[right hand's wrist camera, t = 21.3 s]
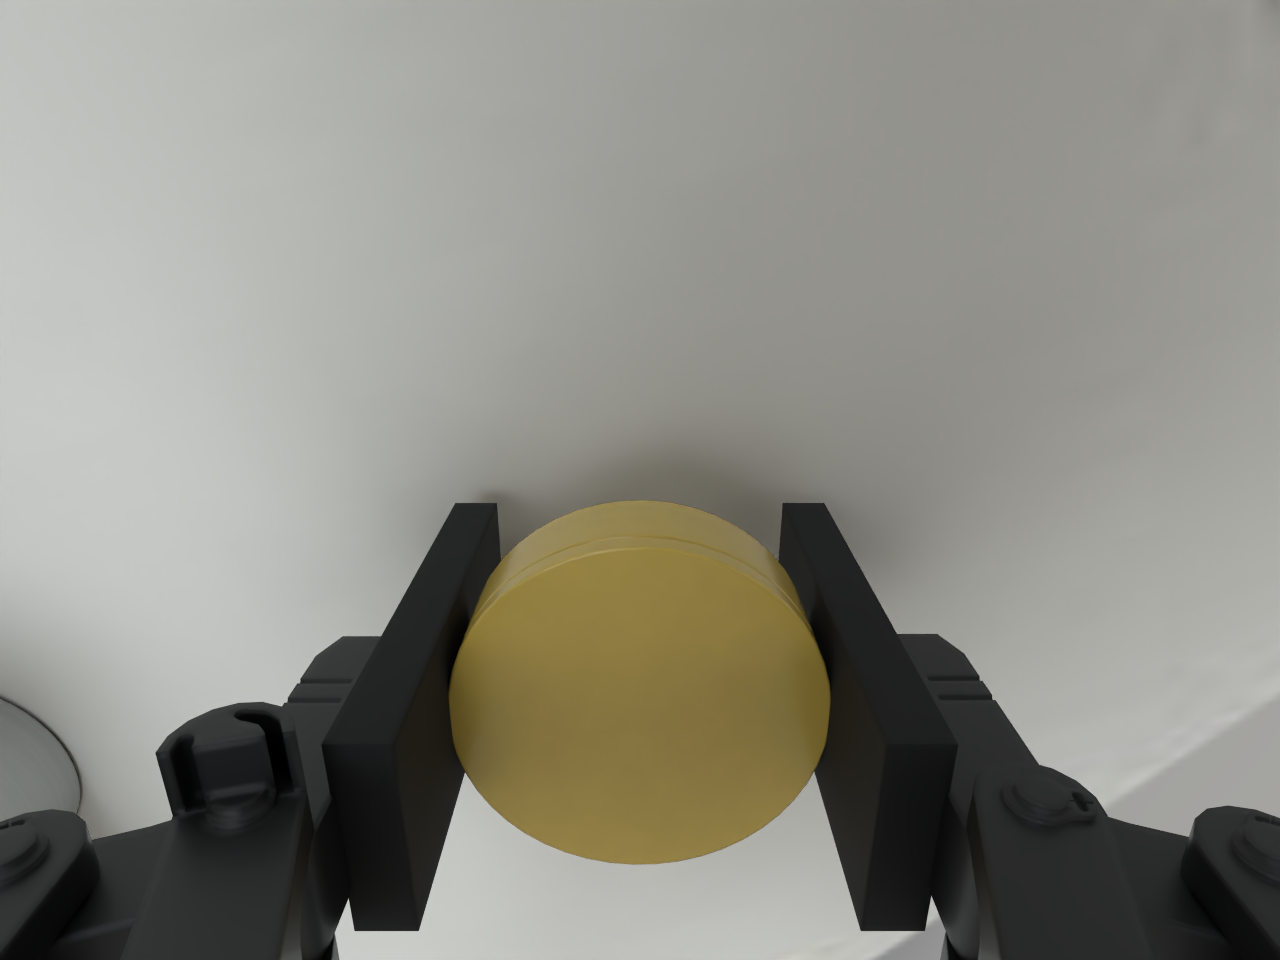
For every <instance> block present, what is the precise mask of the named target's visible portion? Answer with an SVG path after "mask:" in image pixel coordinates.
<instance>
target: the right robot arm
mask: <svg viewBox="0 0 1280 960" xmlns="http://www.w3.org/2000/svg"><path fill="white" fill-rule="evenodd" d="M500 562H501V556H500V541H499V527H498V513H497V503H455V505H454V507H453V508H452V510H451V512H450V514H449V516H448V517H447V519H446V521H445V523H444V525H443V526H442V528H441V530H440V532H439V534H438V535H437V537H436V539H435V541H434V543H433V544H432V546H431V548H430V550H429V552H428V553H427V555H426V557H425V559H424V561H423V562H422V564H421V566H420V568H419V570H418V571H417V573H416V575H415V577H414V578H413V580H412V582H411V584H410V586H409V587H408V589H407V591H406V593H405V595H404V596H403V598H402V600H401V602H400V604H399V605H398V607H397V609H396V611H395V613H394V614H393V616H392V618H391V620H390V622H389V623H388V625H387V627H386V629H385V631H384V632H383V634H382V636H343V637H341V638H340V639H339V640H337V641H336V642H335V643H333V644H332V645H330V646H329V647H328V648H326V649H325V650H324V651H322V652H321V653H319V654H318V655H317V656H316V657H315V658H314V660H313V661H312V663H311V664H310V666H309V667H308V669H307V670H306V672H305V673H304V675H303V676H302V678H301V682H300V684H297V685H296V686H295V688H294V689H293V691H292V692H291V694H290V695H289V697H288V702H287V703H284V704H283V706H282V707H281V706H277V705H273V704H269V703H265V702H251V703H237V704H233V705H229V706H225V707H221V708H217V709H213V710H211V711H209V712H206V713H204V714H202V715H200V716H198V717H196V718H193V719H191V720H189V721H187V722H186V723H185V724H183V725H182V726H181V727H179V728H178V729H177V730H175V731H174V732H173V733H171V734H170V735H169V736H168V737H167V738H166V739H165V741H164V742H163V743H162V745H161V746H160V747H159V749H158V750H157V751H156V756H157V760H158V764H159V767H160V771H161V775H162V778H163V782H164V785H165V789H166V793H167V796H168V800H169V804H170V807H171V811H172V815H173V817H172V820H170V821H167V822H164V823H160V824H157V825H154V826H151V827H146V828H142V829H138V830H133V831H129V832H125V833H120V834H116V835H112V836H108V837H103V838H99V839H95V840H91V837H90V834H89V831H88V828H87V825H86V822H85V821H84V820H82V819H81V818H80V817H79V816H78V815H76V814H75V813H74V812H69V811H63V810H56V809H49V810H42V811H35V812H29V813H24V814H21V815H18V816H15V817H12V818H10V819H6V820H4V821H1V822H0V960H339V955H338V948H337V943H336V938H335V930H336V928H337V925H338V923H339V920H340V918H341V915H342V913H343V910H344V908H345V905H346V903H347V900H348V898H349V902H350V907H351V913H352V919H353V924H354V930H355V931H419V928H420V925H421V921H422V918H423V914H424V911H425V907H426V904H427V901H428V897H429V894H430V890H431V887H432V883H433V880H434V877H435V873H436V870H437V866H438V863H439V859H440V856H441V852H442V849H443V846H444V842H445V839H446V835H447V832H448V828H449V825H450V822H451V818H452V815H453V811H454V808H455V804H456V801H457V798H458V794H459V791H460V787H461V784H462V780H463V777H464V774H465V771H464V769H463V766H462V764H461V762H460V760H459V758H458V756H457V753H456V750H455V747H454V743H453V736H452V727H451V718H450V707H449V696H448V689H449V683H450V678H451V672H452V669H453V666H454V663H455V660H456V657H457V654H458V652H459V649H460V646H461V644H462V641H463V639H464V636H465V633H466V630H467V628H468V625H469V623H470V620H471V617H472V615H473V612H474V609H475V607H476V604H477V601H478V599H479V596H480V594H481V592H482V590H483V588H484V586H485V584H486V582H487V581H488V579H489V577H490V575H491V574H492V573H493V571H494V570H495V569H496V567H497V566H498V565H499V563H500ZM779 563H780V564H781V566H782V567H783V568H784V569H785V571H786V572H787V574H788V576H789V577H790V579H791V581H792V582H793V584H794V586H795V587H796V590H797V592H798V594H799V597H800V599H801V601H802V604H803V606H804V609H805V612H806V614H807V617H808V620H809V622H810V625H811V627H812V630H813V633H814V635H815V638H816V641H817V643H818V646H819V649H820V651H821V654H822V657H823V659H824V662H825V666H826V670H827V674H828V678H829V682H830V690H831V701H830V712H829V722H828V731H827V739H826V745H825V748H824V750H823V753H822V755H821V758H820V760H819V763H818V765H817V767H816V769H815V770H814V772H815V775H816V779H817V782H818V785H819V789H820V792H821V796H822V799H823V803H824V806H825V809H826V813H827V816H828V820H829V823H830V827H831V830H832V833H833V837H834V840H835V844H836V847H837V851H838V854H839V857H840V861H841V864H842V868H843V871H844V875H845V878H846V882H847V885H848V888H849V892H850V895H851V899H852V902H853V906H854V909H855V912H856V916H857V919H858V923H859V926H860V930H861V931H925V927H926V922H927V916H928V910H929V905H930V899H931V895H932V898H933V900H934V903H935V905H936V908H937V910H938V913H939V915H940V918H941V920H942V923H943V925H944V927H945V930H946V932H945V938H944V943H943V948H942V953H941V958H940V960H1280V818H1278V817H1275V816H1272V815H1269V814H1266V813H1264V812H1261V811H1258V810H1254V809H1247V808H1240V807H1234V806H1223V807H1216V808H1209V809H1206V810H1205V811H1204V812H1202V813H1201V814H1200V815H1199V816H1198V817H1196V818H1195V820H1194V823H1193V826H1192V829H1191V832H1190V836H1189V837H1186V836H1182V835H1177V834H1173V833H1169V832H1165V831H1160V830H1156V829H1152V828H1147V827H1143V826H1139V825H1134V824H1130V823H1127V822H1123V821H1120V820H1117V819H1113V818H1110V817H1108V816H1107V814H1106V812H1105V811H1104V809H1103V808H1102V806H1101V804H1100V803H1099V801H1098V800H1097V798H1096V797H1095V796H1094V795H1093V794H1092V793H1090V792H1089V791H1088V790H1087V789H1086V788H1084V787H1083V786H1082V785H1081V784H1080V783H1078V782H1077V781H1076V780H1074V779H1072V778H1070V777H1068V776H1066V775H1064V774H1062V773H1060V772H1058V771H1056V770H1054V769H1052V768H1049V767H1045V766H1041V765H1039V764H1038V763H1037V761H1036V760H1035V758H1034V757H1033V755H1032V754H1031V752H1030V751H1029V749H1028V748H1027V746H1026V745H1025V743H1024V742H1023V740H1022V739H1021V737H1020V736H1019V734H1018V733H1017V731H1016V730H1015V728H1014V727H1013V725H1012V724H1011V723H1010V721H1009V720H1008V718H1007V717H1006V715H1005V714H1004V712H1003V711H1002V709H1001V708H1000V706H999V705H998V703H997V702H996V700H992V694H991V693H990V691H989V690H988V688H987V687H986V685H985V684H984V682H983V681H980V679H979V675H978V674H977V672H976V671H975V669H974V668H973V666H972V665H971V663H970V662H969V660H968V659H967V657H966V656H965V654H964V653H962V652H961V651H960V650H958V649H957V648H956V647H954V646H953V645H951V644H950V643H949V642H947V641H946V640H945V639H943V638H942V637H940V636H939V635H938V634H897V633H896V631H895V630H894V628H893V626H892V624H891V622H890V621H889V619H888V617H887V615H886V613H885V612H884V610H883V608H882V606H881V605H880V603H879V601H878V599H877V597H876V596H875V594H874V592H873V590H872V588H871V587H870V585H869V583H868V581H867V579H866V578H865V576H864V574H863V572H862V570H861V569H860V567H859V565H858V563H857V561H856V560H855V558H854V556H853V554H852V552H851V551H850V549H849V547H848V545H847V543H846V542H845V540H844V538H843V536H842V534H841V533H840V531H839V529H838V527H837V526H836V524H835V522H834V520H833V518H832V517H831V515H830V513H829V511H828V509H827V508H826V506H825V504H824V503H783V507H782V521H781V535H780V549H779Z"/></svg>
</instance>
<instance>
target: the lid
mask: <svg viewBox="0 0 1280 960" xmlns="http://www.w3.org/2000/svg"><path fill="white" fill-rule="evenodd" d="M448 696H449V707H450V718H451V727H452V736H453V743H454V747H455V750H456V753H457V756H458V758H459V760H460V762H461V764H462V766H463V769H464V771H465V773H466V774H467V776H468V777H469V779H470V780H471V782H472V783H473V785H474V786H475V788H476V790H477V791H478V792H479V793H480V794H481V795H482V797H483V798H484V799H485V800H486V801H487V802H488V804H489V805H490V806H491V807H492V808H493V809H494V810H496V811H497V812H498V813H499V814H500V815H501V816H502V817H503V818H505V819H506V820H507V821H508V822H510V823H511V824H512V825H514V826H515V827H517V828H518V829H520V830H521V831H522V832H524V833H525V834H527V835H529V836H531V837H533V838H535V839H537V840H538V841H540V842H542V843H544V844H546V845H549V846H551V847H554V848H556V849H559V850H561V851H563V852H566V853H570V854H573V855H577V856H580V857H583V858H587V859H592V860H598V861H603V862H609V863H620V864H660V863H668V862H677V861H682V860H687V859H691V858H695V857H700V856H703V855H706V854H709V853H712V852H715V851H718V850H721V849H724V848H726V847H728V846H730V845H732V844H734V843H737V842H739V841H741V840H743V839H745V838H746V837H748V836H750V835H751V834H753V833H755V832H756V831H758V830H760V829H761V828H763V827H764V826H765V825H767V824H768V823H769V822H771V821H772V820H773V819H774V818H776V817H777V816H778V815H779V814H780V813H781V812H782V811H783V810H784V809H785V808H786V807H787V806H789V805H790V804H791V803H792V802H793V801H794V799H795V798H796V797H797V796H798V794H799V793H800V792H801V790H802V789H803V788H804V787H805V785H806V784H807V782H808V781H809V779H810V777H811V776H812V774H813V772H814V770H815V769H816V767H817V765H818V763H819V760H820V758H821V755H822V753H823V750H824V748H825V745H826V739H827V731H828V722H829V712H830V701H831V690H830V682H829V678H828V674H827V670H826V666H825V662H824V659H823V657H822V654H821V651H820V649H819V646H818V643H817V641H816V638H815V635H814V633H813V630H812V627H811V625H810V622H809V620H808V617H807V614H806V612H805V609H804V606H803V604H802V601H801V599H800V597H799V594H798V592H797V590H796V587H795V586H794V584H793V582H792V581H791V579H790V577H789V576H788V574H787V572H786V571H785V569H784V568H783V567H782V566H781V564H780V563H779V562H778V561H777V560H776V558H775V557H774V556H773V555H772V554H771V553H770V552H769V551H768V550H767V549H766V548H765V547H764V546H763V545H762V544H760V543H759V542H758V541H757V540H756V539H755V538H753V537H752V536H750V535H749V534H748V533H746V532H745V531H743V530H742V529H740V528H739V527H737V526H736V525H734V524H732V523H730V522H728V521H726V520H724V519H722V518H720V517H718V516H716V515H713V514H710V513H708V512H705V511H702V510H699V509H696V508H693V507H689V506H684V505H680V504H675V503H671V502H661V501H650V500H632V501H617V502H611V503H604V504H598V505H594V506H591V507H587V508H583V509H580V510H576V511H574V512H571V513H569V514H566V515H564V516H562V517H559V518H557V519H554V520H553V521H551V522H549V523H547V524H546V525H544V526H542V527H541V528H539V529H537V530H535V531H534V532H533V533H531V534H530V535H529V536H527V537H526V538H525V539H523V540H522V541H521V542H520V543H518V544H517V545H516V546H515V547H514V548H513V549H512V550H511V551H510V552H509V553H508V554H507V555H506V556H505V557H504V558H503V559H502V560H501V562H500V563H499V565H498V566H497V567H496V569H495V570H494V571H493V573H492V574H491V575H490V577H489V579H488V581H487V582H486V584H485V586H484V588H483V590H482V592H481V594H480V596H479V599H478V601H477V604H476V607H475V609H474V612H473V615H472V617H471V620H470V623H469V625H468V628H467V630H466V633H465V636H464V639H463V641H462V644H461V646H460V649H459V652H458V654H457V657H456V660H455V663H454V666H453V669H452V672H451V678H450V683H449V689H448Z"/></svg>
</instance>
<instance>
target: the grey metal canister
mask: <svg viewBox="0 0 1280 960" xmlns="http://www.w3.org/2000/svg"><path fill="white" fill-rule="evenodd" d="M79 801H80V784H79V779H78V775H77V772H76V770H75V767H74V764H73V762H72V761H71V759H70V757H69V755H68V753H67V752H66V750H65V749H64V748H63V746H62V745H61V743H60V742H59V741H58V740H57V739H56V738H55V737H54V735H53V734H52V733H51V732H50V731H49V730H48V729H47V728H45V727H44V726H43V725H42V724H41V723H40V722H39V721H37V720H36V719H35V718H33V717H32V716H30V715H29V714H28V713H26V712H25V711H23V710H21V709H20V708H18V707H16V706H15V705H13V704H11V703H9V702H7V701H5V700H2V699H0V822H1V821H4V820H6V819H10V818H12V817H15V816H18V815H21V814H24V813H29V812H35V811H42V810H49V809H56V810H63V811H69V812H74V813H75V814H76V813H77V810H78V807H79Z"/></svg>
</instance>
